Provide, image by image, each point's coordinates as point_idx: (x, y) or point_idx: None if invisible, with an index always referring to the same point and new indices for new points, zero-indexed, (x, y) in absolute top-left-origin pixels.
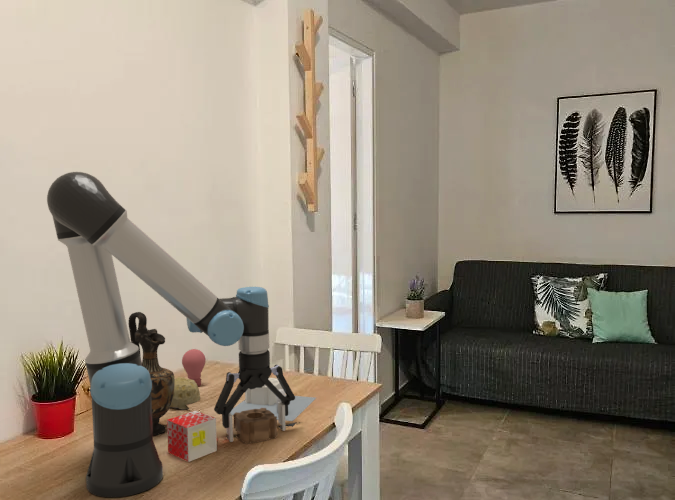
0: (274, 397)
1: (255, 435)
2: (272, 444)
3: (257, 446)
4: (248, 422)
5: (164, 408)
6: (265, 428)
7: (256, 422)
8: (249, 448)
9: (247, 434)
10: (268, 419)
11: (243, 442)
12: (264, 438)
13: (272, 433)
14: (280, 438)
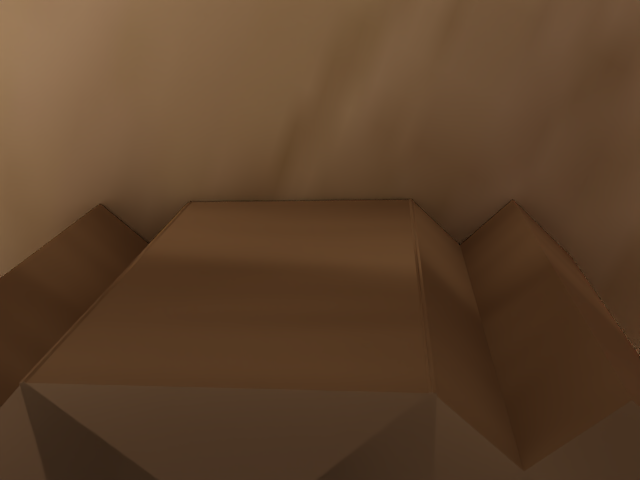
0: None
1: (399, 239)
2: (184, 4)
3: (427, 41)
4: (579, 458)
5: None
6: (182, 279)
7: (366, 382)
8: (577, 23)
9: (560, 270)
10: (21, 395)
11: (571, 258)
12: (250, 211)
13: (98, 254)
14: (25, 168)
